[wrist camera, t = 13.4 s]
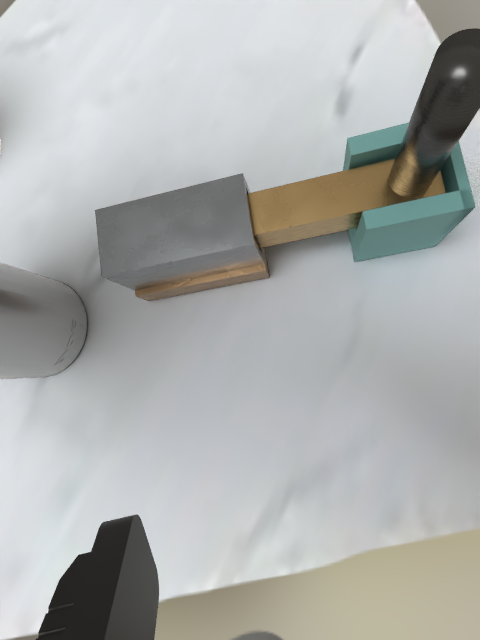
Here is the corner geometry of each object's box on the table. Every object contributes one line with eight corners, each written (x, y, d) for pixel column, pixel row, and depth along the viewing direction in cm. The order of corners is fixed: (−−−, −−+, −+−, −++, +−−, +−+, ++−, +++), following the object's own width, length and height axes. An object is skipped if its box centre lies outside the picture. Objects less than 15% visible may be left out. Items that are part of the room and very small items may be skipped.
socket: (354, 262, 30) (366, 229, 23) (340, 191, 31) (347, 138, 24) (435, 246, 29) (475, 206, 22) (418, 173, 30) (451, 111, 23)
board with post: (238, 252, 29) (180, 170, 17) (232, 216, 29) (172, 110, 17) (431, 212, 26) (531, 79, 14) (422, 172, 27) (511, 11, 14)
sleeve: (148, 301, 33) (102, 283, 26) (141, 237, 34) (94, 203, 27) (269, 277, 32) (255, 251, 24) (258, 211, 32) (241, 166, 25)
